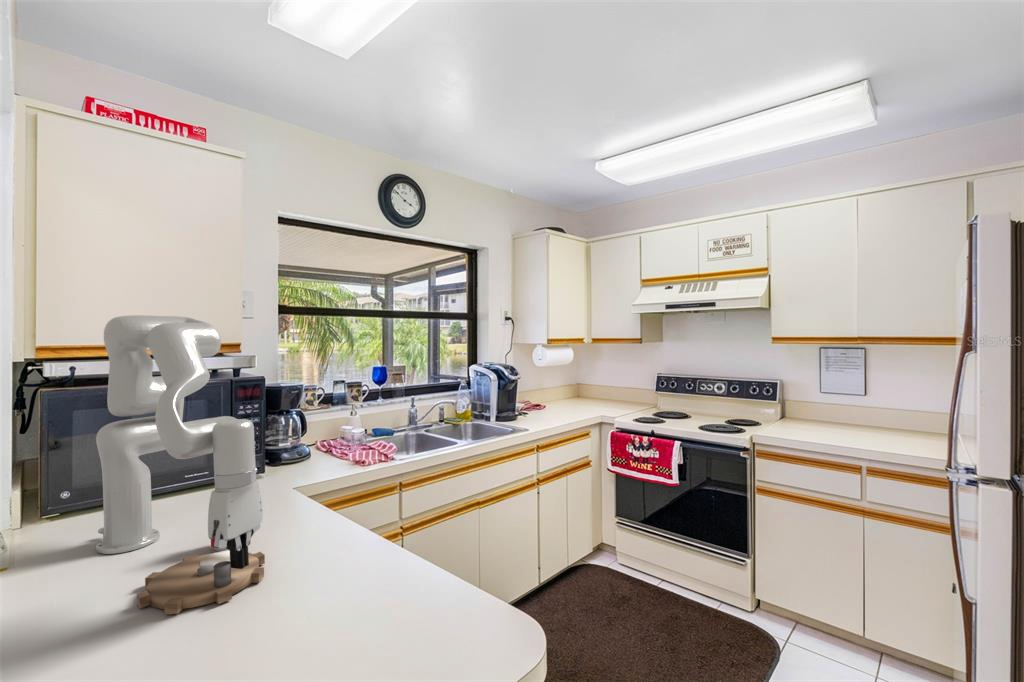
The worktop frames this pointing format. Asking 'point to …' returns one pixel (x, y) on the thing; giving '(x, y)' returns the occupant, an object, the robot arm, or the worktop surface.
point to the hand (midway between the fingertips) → (239, 566)
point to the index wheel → (199, 581)
